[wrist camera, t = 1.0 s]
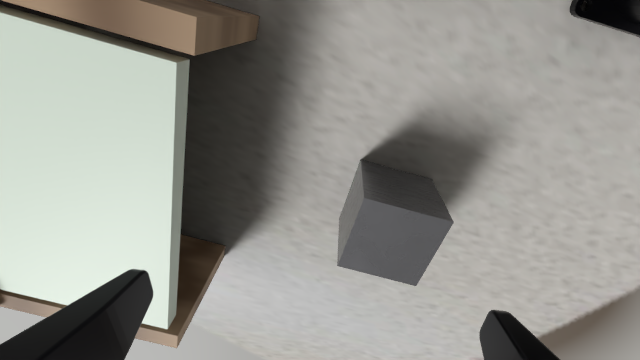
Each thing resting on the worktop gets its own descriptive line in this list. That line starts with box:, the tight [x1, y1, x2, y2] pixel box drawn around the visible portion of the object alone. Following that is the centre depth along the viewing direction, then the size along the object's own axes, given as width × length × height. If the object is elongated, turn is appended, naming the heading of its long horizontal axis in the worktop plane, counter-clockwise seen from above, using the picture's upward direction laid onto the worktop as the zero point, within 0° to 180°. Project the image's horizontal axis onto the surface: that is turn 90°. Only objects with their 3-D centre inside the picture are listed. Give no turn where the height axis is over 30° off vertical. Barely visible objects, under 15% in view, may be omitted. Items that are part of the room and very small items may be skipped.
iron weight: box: [337, 160, 454, 286], centre depth 20 cm, size 5×5×5 cm
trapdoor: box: [0, 5, 190, 329], centre depth 16 cm, size 17×15×4 cm
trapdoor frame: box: [0, 0, 259, 348], centre depth 17 cm, size 18×18×9 cm
